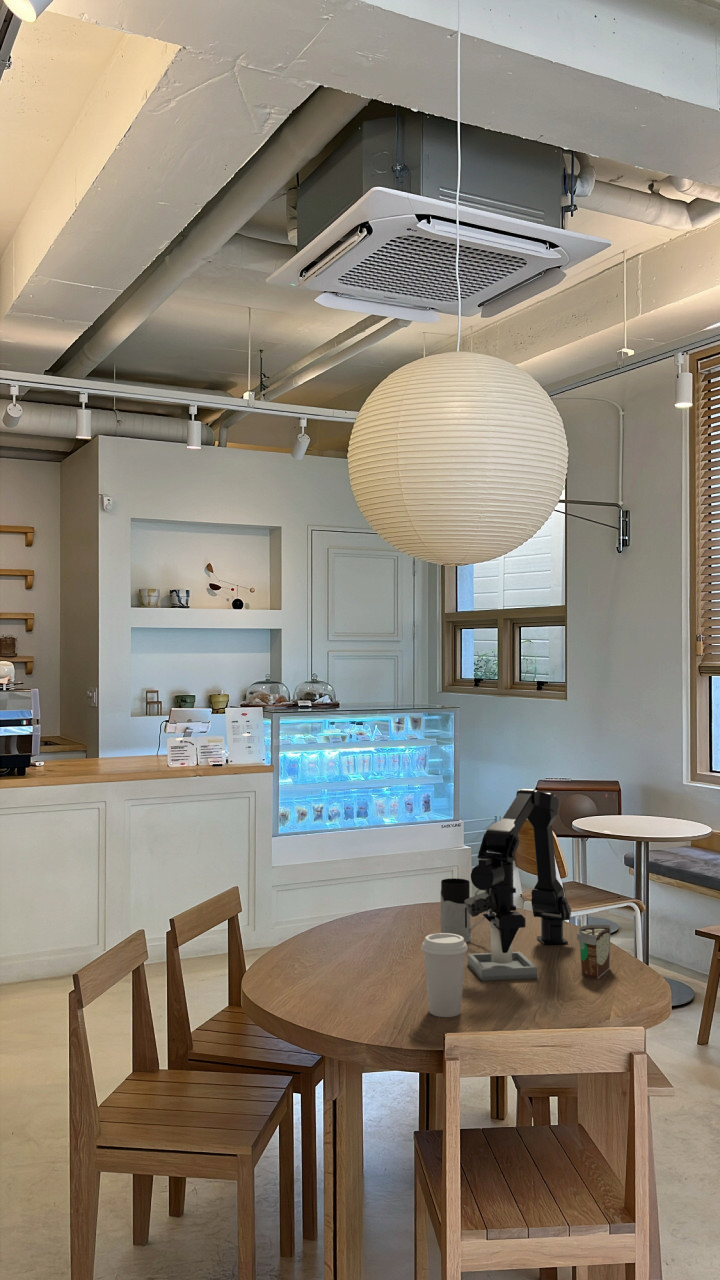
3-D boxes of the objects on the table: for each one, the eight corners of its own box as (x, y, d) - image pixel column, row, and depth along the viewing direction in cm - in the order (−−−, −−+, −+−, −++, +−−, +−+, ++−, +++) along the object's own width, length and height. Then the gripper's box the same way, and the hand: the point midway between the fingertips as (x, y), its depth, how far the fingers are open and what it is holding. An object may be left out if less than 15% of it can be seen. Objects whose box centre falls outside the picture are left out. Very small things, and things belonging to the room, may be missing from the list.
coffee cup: (464, 1003, 204) (464, 931, 205) (471, 1019, 195) (470, 944, 195) (419, 1004, 204) (419, 932, 204) (423, 1020, 194) (423, 944, 195)
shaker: (488, 957, 229) (488, 919, 230) (508, 956, 230) (508, 918, 231) (494, 963, 224) (493, 924, 225) (515, 963, 225) (514, 923, 226)
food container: (586, 963, 234) (585, 921, 234) (611, 967, 230) (611, 924, 231) (569, 976, 223) (568, 932, 223) (595, 980, 220) (595, 936, 220)
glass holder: (446, 932, 262) (445, 876, 263) (496, 938, 256) (496, 881, 257) (434, 940, 254) (433, 882, 255) (485, 946, 248) (485, 887, 249)
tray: (467, 964, 233) (467, 953, 233) (520, 962, 235) (520, 951, 235) (481, 980, 220) (481, 969, 220) (537, 978, 222) (537, 967, 222)
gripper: (458, 875, 236) (458, 940, 236) (477, 892, 218) (478, 962, 217) (502, 874, 238) (503, 938, 237) (525, 890, 219) (526, 960, 219)
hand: (501, 949), depth 227 cm, fingers closed on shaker, 5 cm apart
